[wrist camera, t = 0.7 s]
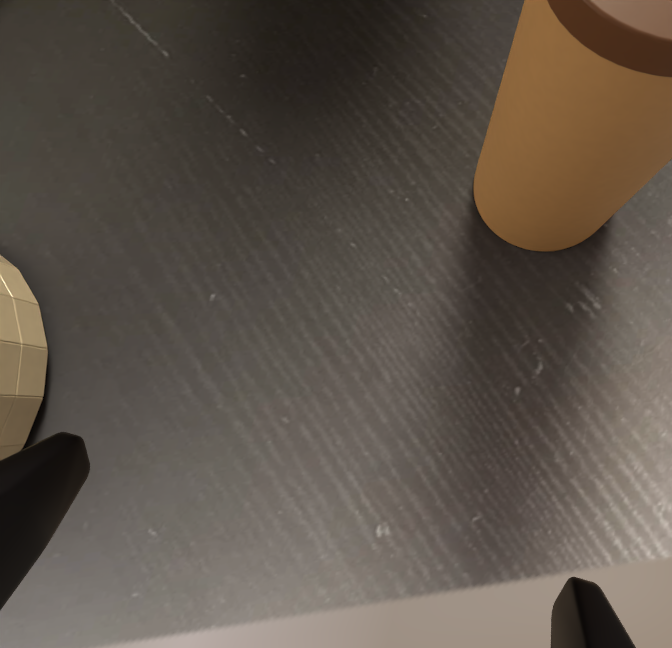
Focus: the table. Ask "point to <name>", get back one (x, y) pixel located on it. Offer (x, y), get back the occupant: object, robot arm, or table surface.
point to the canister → (576, 119)
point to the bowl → (19, 359)
